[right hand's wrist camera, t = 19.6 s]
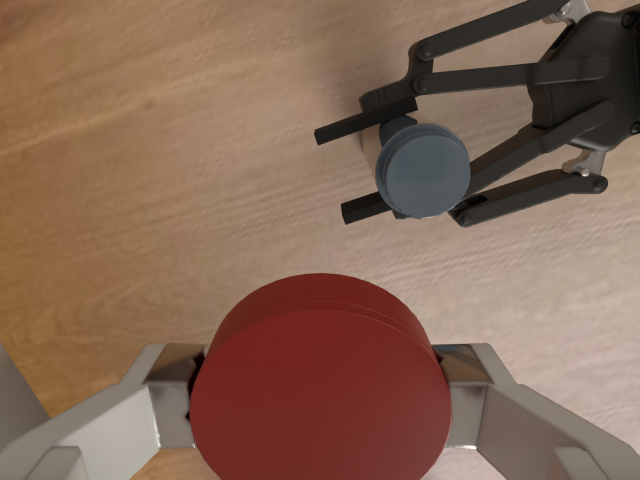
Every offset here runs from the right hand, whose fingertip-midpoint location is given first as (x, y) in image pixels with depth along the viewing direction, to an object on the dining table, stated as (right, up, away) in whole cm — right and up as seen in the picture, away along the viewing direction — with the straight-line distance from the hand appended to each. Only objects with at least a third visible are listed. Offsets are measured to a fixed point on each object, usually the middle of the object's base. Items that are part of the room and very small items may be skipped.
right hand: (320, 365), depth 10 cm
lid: (0, -1, -1) cm, 2 cm away
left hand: (+1, +8, +17) cm, 19 cm away
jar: (+6, +12, +23) cm, 26 cm away
